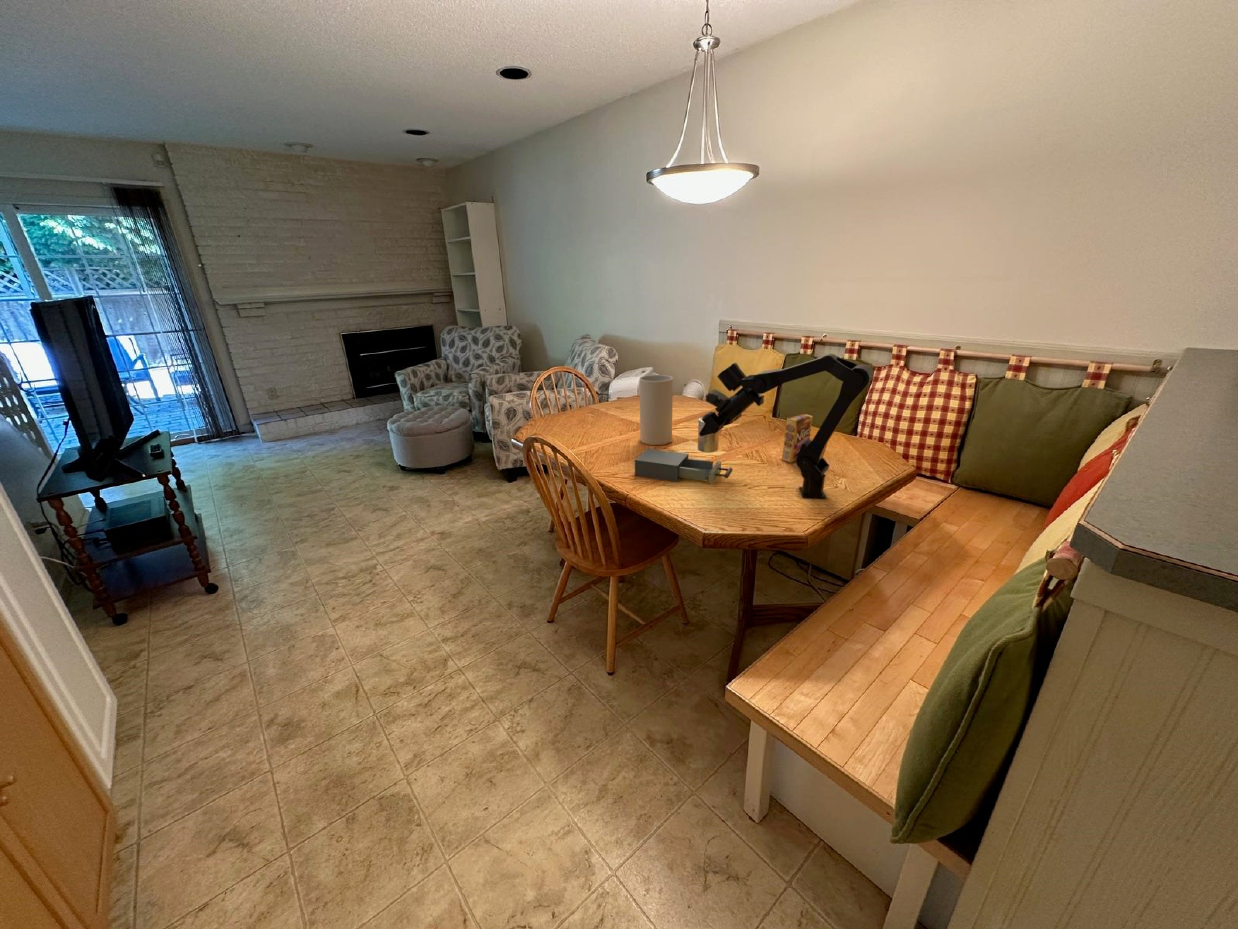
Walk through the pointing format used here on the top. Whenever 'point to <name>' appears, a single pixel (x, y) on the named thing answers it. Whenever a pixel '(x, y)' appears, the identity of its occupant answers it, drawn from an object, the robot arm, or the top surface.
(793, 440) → the candy box
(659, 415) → the cylinder vase
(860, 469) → the top surface
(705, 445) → the metal can
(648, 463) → the cabinet
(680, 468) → the drawer
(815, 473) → the robot arm
